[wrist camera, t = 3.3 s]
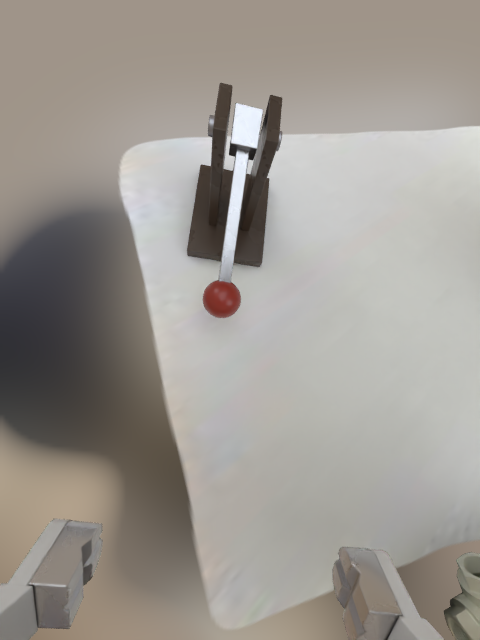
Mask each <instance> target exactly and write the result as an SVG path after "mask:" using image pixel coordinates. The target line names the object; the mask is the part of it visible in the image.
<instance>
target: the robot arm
mask: <svg viewBox="0 0 480 640" xmlns="http://www.w3.org/2000/svg"><path fill="white" fill-rule="evenodd" d="M101 533H102V523H92V522H82V521H81V522H80V521H72V520H65V519H53V520H52V521H51V522H50V523H49V524H48V525H47V526H46V528H45V529H44V531H43V532H42V533H41V535H40V536H39V538H38V539H37V541H36V542H35V544H34V545H33V547H32V548H31V550H30V551H29V553H28V554H27V555H26V557H25V558H24V560H23V561H22V563H21V564H20V566H19V567H18V568H17V570H16V572H15V573H14V574H13V576H12V577H11V579H10V580H9V582H8V583H2V584H0V640H29V639H30V638H31V637H32V636H33V635H34V634H35V633H36V632H37V630H38V628H56V629H70V627H71V624H72V622H73V620H74V617H75V615H76V613H77V611H78V609H79V606H80V604H81V602H82V599H83V586H84V585H85V584H86V583H87V582H88V581H89V580H90V579H91V578H92V577H93V574H94V572H95V570H96V567H97V565H98V562H99V558H100V555H101V551H102V542H103V541H102V539H101V538H100V535H101ZM338 554H339V557H340V559H339V560H337V561H336V562H335V563H334V567H333V584H334V589H335V592H336V596H337V599H338V601H339V602H340V603H341V605H342V606H343V608H344V615H343V621H344V624H345V628H346V632H347V635H348V639H349V640H445V639H444V638H443V637H442V636H441V635H440V634H439V633H438V632H437V631H436V630H435V629H434V627H432V625H431V624H430V623H429V622H428V621H427V620H426V619H424V618H420V616H419V614H418V612H417V610H416V608H415V606H414V604H413V602H412V600H411V598H410V596H409V594H408V592H407V590H406V588H405V586H404V584H403V582H402V580H401V578H400V576H399V574H398V572H397V570H396V568H395V566H394V564H393V562H392V560H391V558H390V556H389V554H388V553H387V552H386V551H383V550H375V549H367V548H354V547H342V548H340V550H339V553H338Z"/></svg>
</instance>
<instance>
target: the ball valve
mask: <svg viewBox="0 0 480 640" xmlns="http://www.w3.org/2000/svg"><path fill="white" fill-rule="evenodd" d="M456 561H457V564H458V566H459V569H458V571H457V578H458V581H459V583H460V586H461V589H462V593H461V594H459V595H457V596H456V597H454V598H452V599H451V600H450V605H451V607H449V608H448V609H446V610H444V615H445V619H446V622H447V625H448V627H449V629H450V631H451V633H452V635H453V636H454V638H455V639H456V640H480V554H478V553H471V552H469V553H465V554H463V555H461V556H460V557H459V558H458V559H457V560H456Z"/></svg>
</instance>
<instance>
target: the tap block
mask: <svg viewBox="0 0 480 640" xmlns="http://www.w3.org/2000/svg"><path fill="white" fill-rule="evenodd" d="M231 95H232V85H228V84H224V83H220V85H219V91H218V98H217V105H216V111H215V116H213V115H210V117H209V126H208V136H210V137H212V158H211V166H206V165H201V166H200V172H199V179H198V185H197V191H196V198H195V204H194V210H193V216H192V223H191V229H190V235H189V242H188V248H187V253H188V256H194V257H200V258H206V259H212V260H219V261H221V258H222V251H223V243H224V236H225V228H226V221H227V214H228V206H229V199H230V191H231V184H232V176H233V171H230V170H225V169H224V160H225V151H226V142H227V131H228V122H229V114H230V105H231ZM281 107H282V98H281V97H277V96H273V95H270V98H269V102H268V106H267V110H266V114H265V118H264V122H263V126H262V130H261V134H260V138H259V142H258V148H257V151H256V154H255V158H254V162H253V166H252V170H251V174H246V179H245V186H244V193H243V200H242V207H241V214H240V220H239V227H238V234H237V241H236V248H235V255H234V262H233V263H238V264H244V265H250V266H257V267H260V265H261V263H262V257H263V245H264V234H265V222H266V211H267V199H268V188H269V178H267V176H268V173H269V170H270V167H271V164H272V161H273V158H274V155H275V152H276V151H278V150H279V147H280V144H281V139H282V131H280V119H281Z"/></svg>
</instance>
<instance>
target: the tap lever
mask: <svg viewBox="0 0 480 640" xmlns="http://www.w3.org/2000/svg"><path fill="white" fill-rule="evenodd" d="M262 115H263V109H260V108H255V107H251V106H247V105H243V104H239V103H236V104H235V112H234V119H233V127H232V134H231V142H230V150H229V155H231V156H235V162H234V169H233V176H232V184H231V191H230V199H229V206H228V214H227V221H226V228H225V236H224V243H223V251H222V258H221V265H220V273H219V280H217V281H214V282H212V283H211V284H209V285H208V286H207V288H206V289H205V291H204V294H203V304H204V307H205V309H206V310H207V311H208V312H209V313H210V314H211V315H213V316H215V317H218V318H226V317H229V316H231V315H233V314H234V313H235V312H236V311H237V310H238V308H239V306H240V303H241V296H240V292H239V290H238V288H237V287H236V286H235V285H234V284H233V283H231V275H232V269H233V262H234V255H235V248H236V241H237V234H238V227H239V220H240V214H241V207H242V200H243V193H244V186H245V179H246V172H247V165H248V159H249V160H253V159H254V157H255V154H256V151H257V148H258V142H259V135H260V128H261V122H262Z"/></svg>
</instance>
